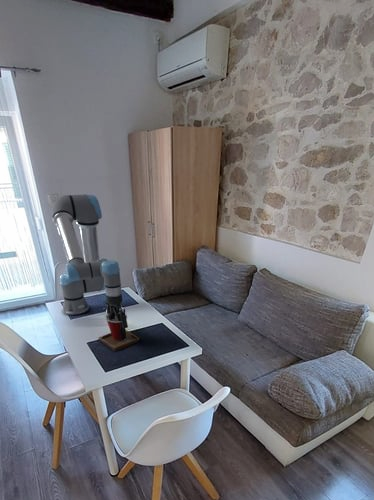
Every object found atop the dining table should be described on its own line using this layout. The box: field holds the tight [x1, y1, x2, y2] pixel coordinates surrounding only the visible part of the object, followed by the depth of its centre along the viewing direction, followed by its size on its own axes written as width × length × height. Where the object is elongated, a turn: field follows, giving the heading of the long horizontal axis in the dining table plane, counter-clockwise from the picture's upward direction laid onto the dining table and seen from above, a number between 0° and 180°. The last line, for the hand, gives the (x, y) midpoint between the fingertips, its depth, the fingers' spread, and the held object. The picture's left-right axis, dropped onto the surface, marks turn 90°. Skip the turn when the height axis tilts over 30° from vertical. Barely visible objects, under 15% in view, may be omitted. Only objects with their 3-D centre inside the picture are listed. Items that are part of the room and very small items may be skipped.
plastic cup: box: [104, 313, 128, 340], centre depth 159 cm, size 11×11×12 cm
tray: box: [98, 329, 140, 352], centre depth 163 cm, size 15×15×2 cm
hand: (118, 335), depth 162 cm, fingers closed on plastic cup, 8 cm apart
